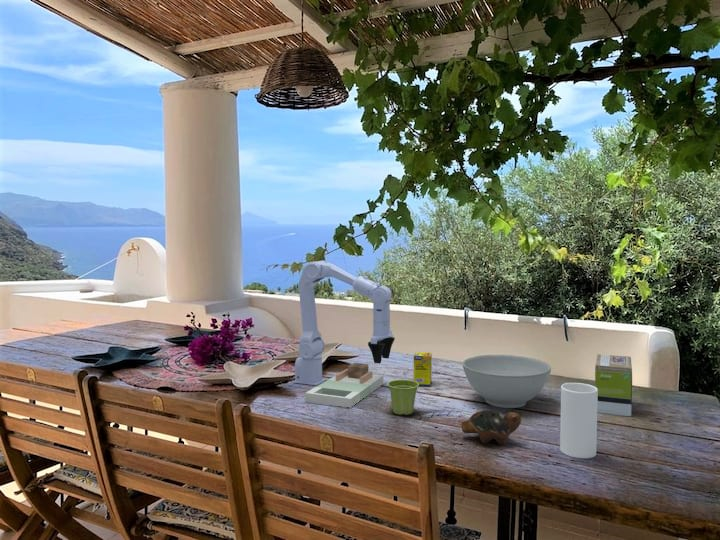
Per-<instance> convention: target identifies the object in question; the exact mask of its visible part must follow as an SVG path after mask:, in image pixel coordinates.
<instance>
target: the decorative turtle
mask: <svg viewBox="0 0 720 540" xmlns="http://www.w3.org/2000/svg"><path fill="white" fill-rule="evenodd" d="M520 424H522V418H521V416H520V415H519V414H518V413H516V412H513V411H511V412H510V411H509V412H507V413H506V414H505V415H504V414H503V412H502V413H501V412H500V411H497V410H491V409H485V410H481V411H477V412H474V413H473V414H472V415H470V417H469V419H467V420H464V421H462V422H460V426H461V431H462V433H464V434H476V435H478V437H479V439H480V442H482V444H484V445H485V444H488V443H490V442H491V441H492V440H495V441H496V443H497V444H498V445H499V446H504V445H506V443H507V441H508V439H509V437H510V435H511V434H513V433H514V432H515V431H516V430H518V428H519V426H520Z"/></svg>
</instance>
